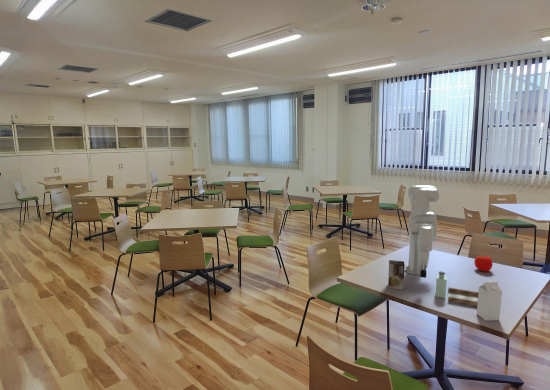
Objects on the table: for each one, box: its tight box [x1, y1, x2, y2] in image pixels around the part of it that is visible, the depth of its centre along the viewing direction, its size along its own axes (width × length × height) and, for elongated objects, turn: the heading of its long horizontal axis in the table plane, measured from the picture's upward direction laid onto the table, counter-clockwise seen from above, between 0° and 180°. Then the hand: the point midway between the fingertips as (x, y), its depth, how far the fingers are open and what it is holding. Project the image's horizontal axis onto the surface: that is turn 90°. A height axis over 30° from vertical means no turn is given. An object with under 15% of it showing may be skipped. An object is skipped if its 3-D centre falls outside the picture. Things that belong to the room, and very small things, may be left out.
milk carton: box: [476, 281, 503, 322], centre depth 169 cm, size 7×7×19 cm
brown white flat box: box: [447, 286, 479, 308], centre depth 189 cm, size 20×14×4 cm
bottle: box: [434, 271, 448, 299], centre depth 194 cm, size 5×5×14 cm
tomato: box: [474, 254, 493, 272], centre depth 232 cm, size 10×11×11 cm
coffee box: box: [387, 259, 406, 291], centre depth 206 cm, size 9×6×16 cm
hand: (423, 276), depth 198 cm, fingers closed
